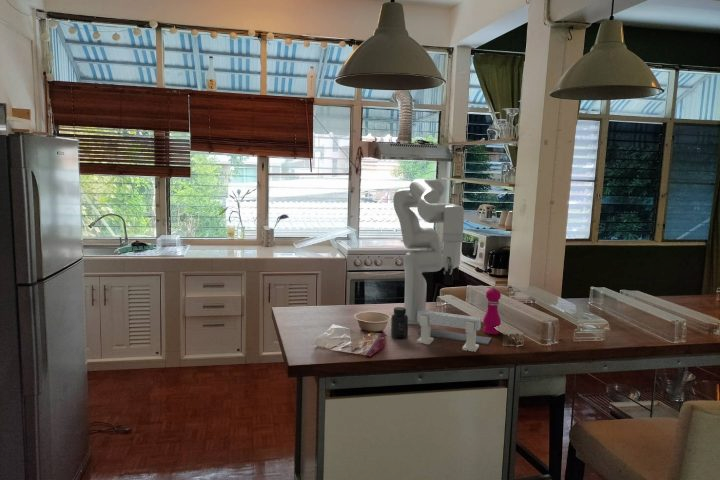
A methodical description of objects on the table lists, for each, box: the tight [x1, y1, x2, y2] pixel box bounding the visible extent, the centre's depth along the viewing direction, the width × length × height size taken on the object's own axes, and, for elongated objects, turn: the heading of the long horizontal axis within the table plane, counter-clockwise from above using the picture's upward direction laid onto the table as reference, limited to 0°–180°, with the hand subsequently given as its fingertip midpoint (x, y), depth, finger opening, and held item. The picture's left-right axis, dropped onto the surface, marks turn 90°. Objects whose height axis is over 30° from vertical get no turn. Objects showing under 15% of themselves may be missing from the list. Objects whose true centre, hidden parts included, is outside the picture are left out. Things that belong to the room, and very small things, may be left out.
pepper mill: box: [482, 284, 502, 335], centre depth 228 cm, size 7×7×20 cm
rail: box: [417, 309, 482, 332], centre depth 210 cm, size 24×4×4 cm, turn 66°
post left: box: [416, 316, 435, 345], centre depth 214 cm, size 5×7×11 cm
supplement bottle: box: [390, 306, 409, 341], centre depth 219 cm, size 7×7×12 cm
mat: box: [418, 328, 493, 346], centre depth 221 cm, size 28×8×1 cm, turn 66°
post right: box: [461, 322, 480, 353], centre depth 207 cm, size 5×7×11 cm
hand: (451, 282), depth 208 cm, fingers open, 9 cm apart
